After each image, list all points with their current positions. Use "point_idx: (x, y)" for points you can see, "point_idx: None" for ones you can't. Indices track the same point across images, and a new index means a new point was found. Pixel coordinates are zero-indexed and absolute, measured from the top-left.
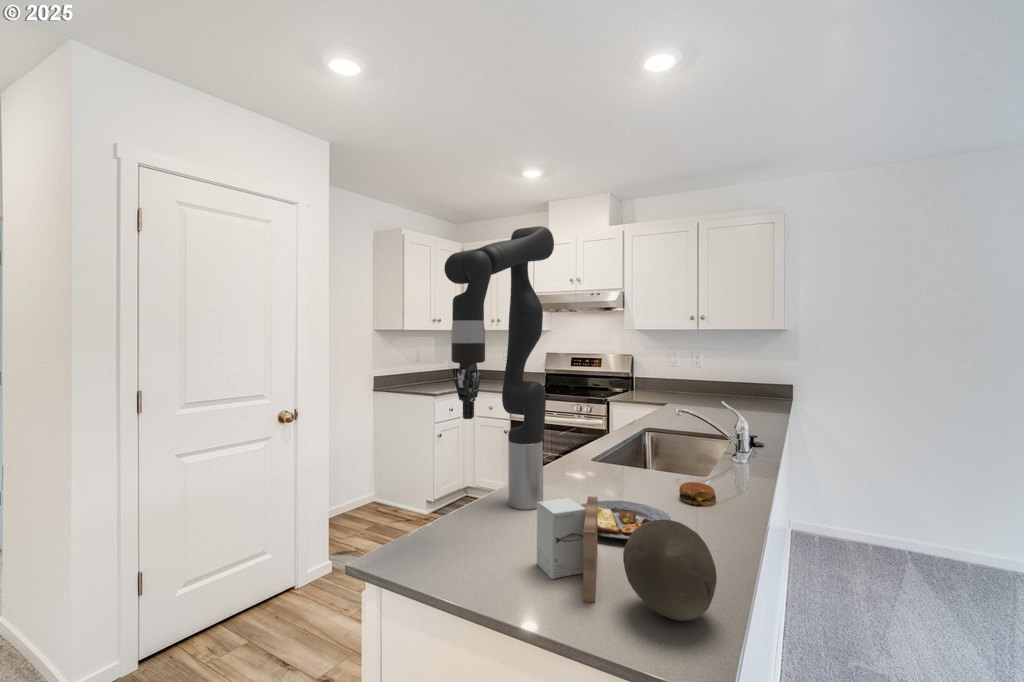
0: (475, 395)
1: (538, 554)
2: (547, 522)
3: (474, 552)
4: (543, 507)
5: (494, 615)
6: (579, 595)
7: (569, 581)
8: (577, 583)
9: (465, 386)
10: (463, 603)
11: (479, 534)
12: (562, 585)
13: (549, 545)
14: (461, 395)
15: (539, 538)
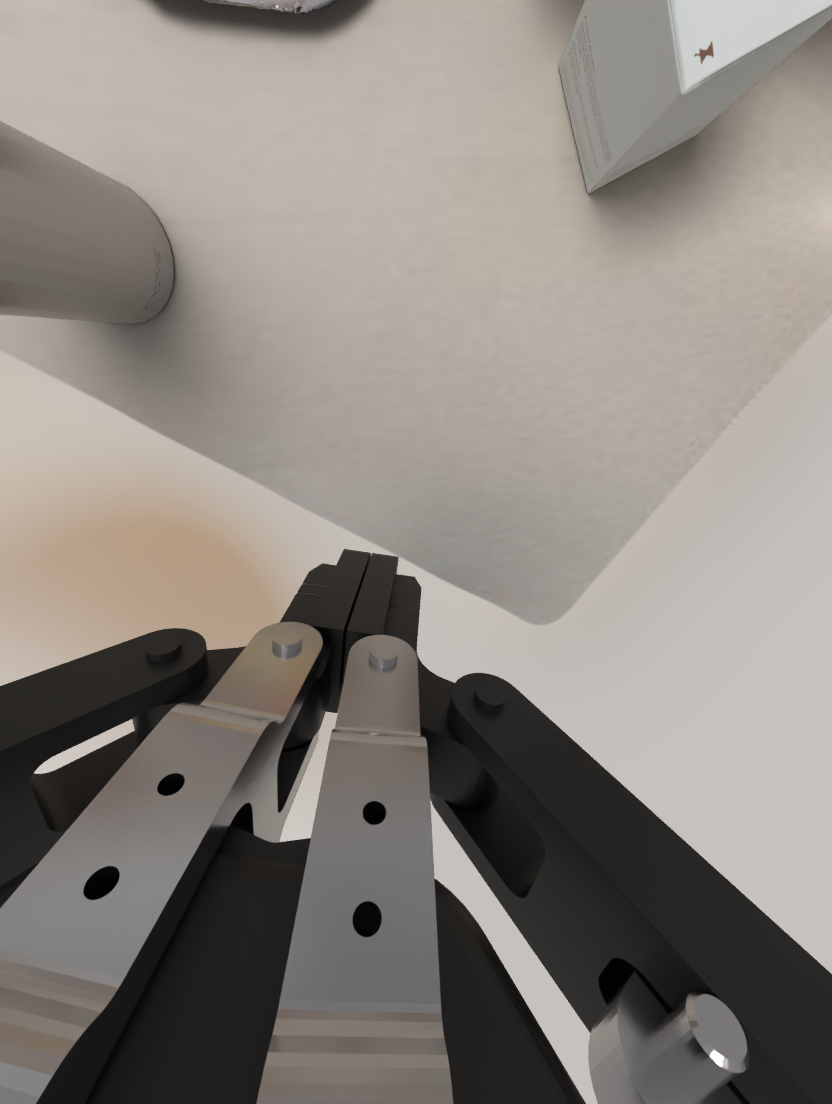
0: (202, 659)
1: (616, 174)
2: (771, 58)
3: (502, 396)
4: (757, 51)
5: (826, 308)
6: None
7: None
8: None
9: (787, 954)
10: (753, 389)
11: (389, 396)
12: None
13: (736, 95)
14: (481, 805)
15: (646, 147)
